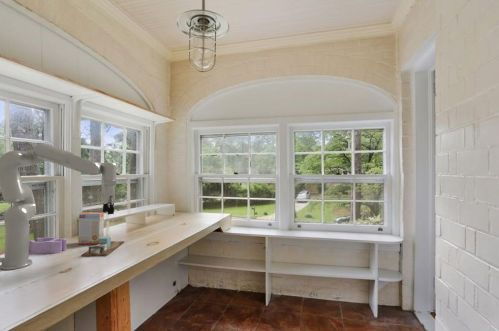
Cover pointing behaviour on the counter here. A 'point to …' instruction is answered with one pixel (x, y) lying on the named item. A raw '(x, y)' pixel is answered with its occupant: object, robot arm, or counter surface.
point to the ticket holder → (102, 249)
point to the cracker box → (90, 227)
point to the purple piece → (47, 245)
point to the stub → (105, 241)
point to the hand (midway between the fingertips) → (108, 213)
